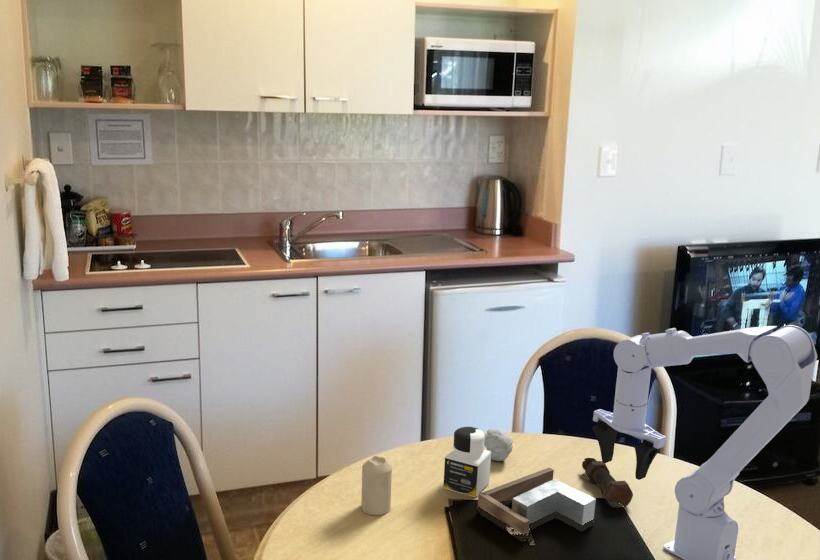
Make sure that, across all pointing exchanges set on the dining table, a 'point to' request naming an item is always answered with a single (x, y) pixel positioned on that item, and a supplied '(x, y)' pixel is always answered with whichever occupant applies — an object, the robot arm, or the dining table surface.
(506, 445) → the grey rock
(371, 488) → the candle
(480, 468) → the medicine bottle
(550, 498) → the bracket
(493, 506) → the corner jig
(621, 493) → the bolt
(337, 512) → the dining table surface
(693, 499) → the robot arm
